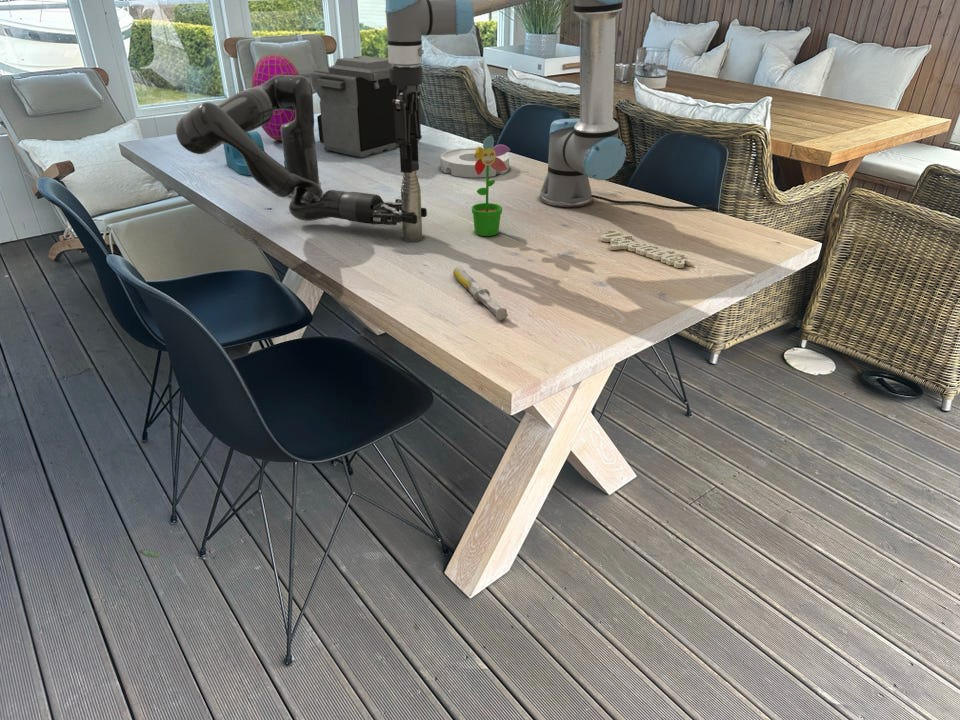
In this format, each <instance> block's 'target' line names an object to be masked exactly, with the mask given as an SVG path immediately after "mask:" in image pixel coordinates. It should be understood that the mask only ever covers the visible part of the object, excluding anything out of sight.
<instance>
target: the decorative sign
mask: <svg viewBox="0 0 960 720" xmlns="http://www.w3.org/2000/svg"><path fill="white" fill-rule="evenodd" d="M600 241H602V242H605V243H609V244H610V245H609V250H610V251H617V250H618V251H619V250H627V251H628V252H634V253H635V254H637V255H640V256H645V257H647V258H649V259H653V260H654V261H660V262H661V263H663V264H666V265H668V266H673V267H674V268H677V269H684V267H685V265H686V266H687V267H688V266H691V259H688V258H685V253H683V252H676V253H675V250H674V249H663V250H660V248H659V246H657V245H656V244H651V243H649V242H643V243H641V242H637V241H633V235H632V234H621V231H620V230H617V229H607V232H606V233H604V234H601V236H600Z"/></svg>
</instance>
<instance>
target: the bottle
mask: <svg viewBox="0 0 960 720" xmlns="http://www.w3.org/2000/svg"><path fill="white" fill-rule="evenodd" d="M418 176H419V175H418V174H417V171H412V173H405V172H403V175H402V179H401V185H400V188H401V189H400V200H401V202H402V214H403V213H409V214H416V215H417V218H418V222H417V223H416V224H412V223H405V222H403V223H402V239H403V241H406V242H419V241H422V239H423V223H422V222H423V221H422V218H423V217H421V207H422V191H421V185H420V181H419V177H418Z"/></svg>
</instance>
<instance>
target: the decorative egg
mask: <svg viewBox="0 0 960 720" xmlns="http://www.w3.org/2000/svg"><path fill="white" fill-rule="evenodd" d="M253 70H254V71H253V73H252V77H251V88H253V87H256V86H260V85H262V84H263V83H265V82H266V81H268V80H269V79H271V78H273V77H275V76H277V75H295V76H301V75H300V73H299V71H298V69H297V67H296V66H295V65H294V63H293V62H292V61H291V60H290V59H288V58H287V57H285V56H282V55H280V54H268V55H265V56H262V57H261V58H260V59H259V60H258V61H257V62H256V65H255V68H254V69H253ZM294 119H295V111H291V110H274V111H273V115H272V118H271V119H270V121H269V122H268V123H266V124H265V125H263V126H261V127H260V128H262V130H263V131H264V133H266V135H267V136H268V137H270V138H271V139H273V140H275V141H281V142H282V137H281V129H280V128H281V126H282V125H283V124H285V123H288V122H291V121H293V120H294Z"/></svg>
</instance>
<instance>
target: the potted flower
mask: <svg viewBox="0 0 960 720" xmlns="http://www.w3.org/2000/svg"><path fill="white" fill-rule="evenodd" d="M494 144H495V139H494V136H493V135H489V136H487V137H486V138H484V140H483V143H482V146H477V147H476V148H477V149H476V151H475V154H474V157H475V158H477V159H479V160H477V162H476V163H475V170H476V172H477V174H478V175H479V174H481V173H482V171H483V170H484V168H485V166H486V177H485V187H480V188H478V189H477V190H476V193H477V194H478V195H480V196H485V202H481V203H475V204H474V205H472V206H471V213H472V217H473V218H472V220H473V227H474V233H475V234H476V235H477V236H481V237H491V236H495V235H497V234H499V230H500V224H501V223H500V222H501V215H502V214H503V207H502V206H501V205H500V204H497V203H493V202H489V191H490V190H489V188H490V187H492V186H493V185H494V184H495V183H496V180H495V179H490V177H489V165H491V167H492V168H494V169H495V170H498V171H503V170H507V167H506V165H505V164H504V162H503V161H502V160H501V159H499V158H498V156H501V155H503V154H505V153H506V154H508V152H510V151H511V148H510V147H508V146H507V145H505V144H502V143H501V144H496V145H494ZM483 148H484V149H483Z"/></svg>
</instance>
